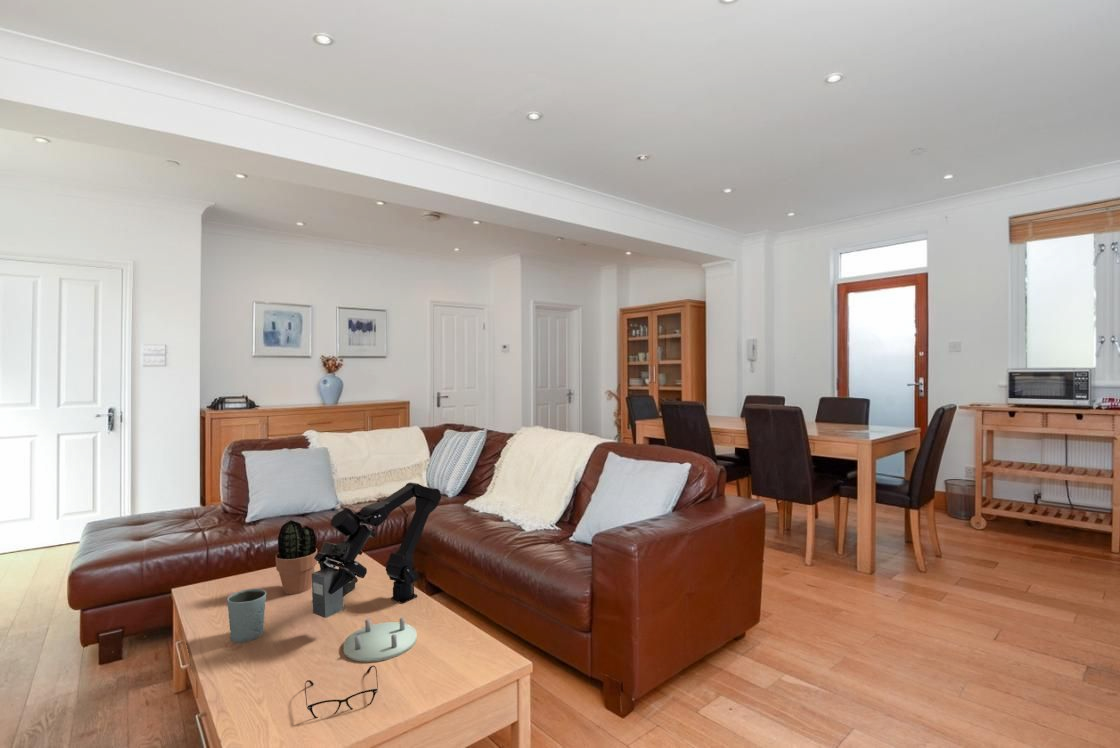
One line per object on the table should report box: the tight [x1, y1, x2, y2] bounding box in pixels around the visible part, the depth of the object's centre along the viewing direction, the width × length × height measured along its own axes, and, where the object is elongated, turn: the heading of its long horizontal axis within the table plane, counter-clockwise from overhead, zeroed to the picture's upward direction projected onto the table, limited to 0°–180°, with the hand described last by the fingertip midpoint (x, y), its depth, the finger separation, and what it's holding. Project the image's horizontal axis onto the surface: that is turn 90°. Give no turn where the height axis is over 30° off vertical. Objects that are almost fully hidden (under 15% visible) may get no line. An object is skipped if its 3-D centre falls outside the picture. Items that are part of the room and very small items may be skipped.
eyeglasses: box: [304, 665, 379, 719], centre depth 134 cm, size 16×16×4 cm
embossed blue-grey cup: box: [226, 588, 267, 643], centre depth 164 cm, size 10×10×12 cm
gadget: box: [343, 578, 359, 596], centre depth 194 cm, size 6×13×6 cm, turn 172°
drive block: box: [311, 567, 344, 619], centre depth 164 cm, size 6×6×12 cm
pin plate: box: [343, 617, 418, 663], centre depth 159 cm, size 20×20×4 cm
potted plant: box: [275, 519, 318, 595], centre depth 197 cm, size 14×14×25 cm
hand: (323, 591), depth 163 cm, fingers closed on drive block, 6 cm apart
